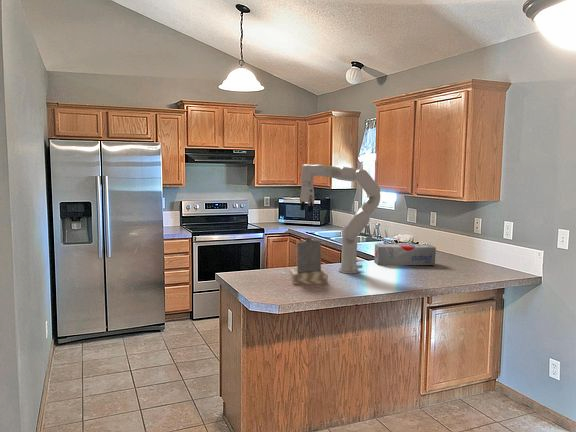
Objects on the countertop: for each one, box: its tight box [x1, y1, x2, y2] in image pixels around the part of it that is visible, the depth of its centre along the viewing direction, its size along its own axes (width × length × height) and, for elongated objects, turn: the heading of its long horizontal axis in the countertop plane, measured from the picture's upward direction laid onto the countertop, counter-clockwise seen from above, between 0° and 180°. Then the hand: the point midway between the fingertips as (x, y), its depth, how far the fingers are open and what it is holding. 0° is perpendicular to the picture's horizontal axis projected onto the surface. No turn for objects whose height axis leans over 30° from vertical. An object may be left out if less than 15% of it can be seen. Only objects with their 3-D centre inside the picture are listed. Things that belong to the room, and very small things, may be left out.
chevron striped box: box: [290, 268, 329, 285], centre depth 278 cm, size 20×14×6 cm
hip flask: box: [296, 236, 322, 273], centre depth 277 cm, size 16×4×20 cm, turn 122°
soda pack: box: [373, 243, 437, 267], centre depth 333 cm, size 41×13×14 cm, turn 93°
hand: (306, 210), depth 303 cm, fingers open, 9 cm apart
